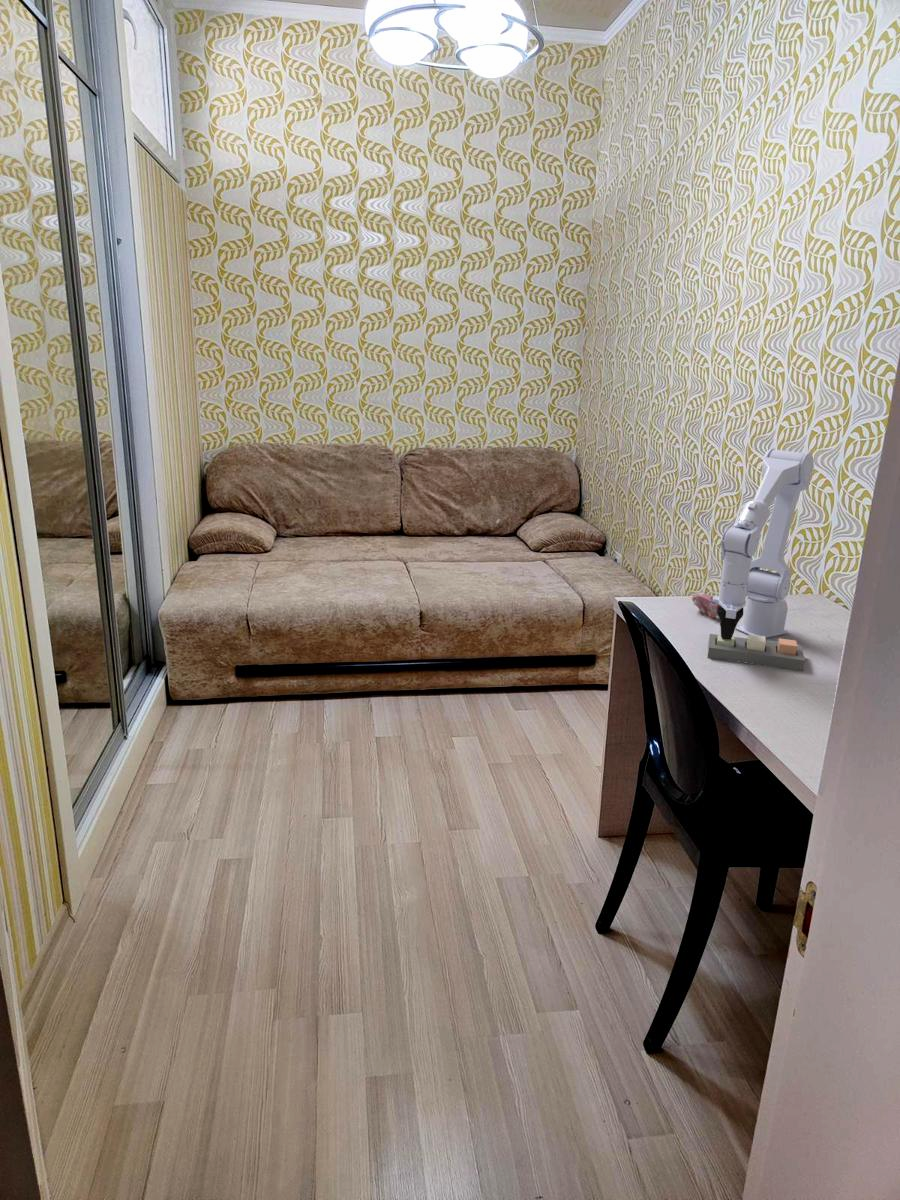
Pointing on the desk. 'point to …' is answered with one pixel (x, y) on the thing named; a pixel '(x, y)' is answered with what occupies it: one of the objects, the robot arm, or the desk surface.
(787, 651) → the terracotta button
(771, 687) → the desk surface
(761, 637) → the cream button
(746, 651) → the button panel
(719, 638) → the sage button
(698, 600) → the pinkish-red lumpy piece
